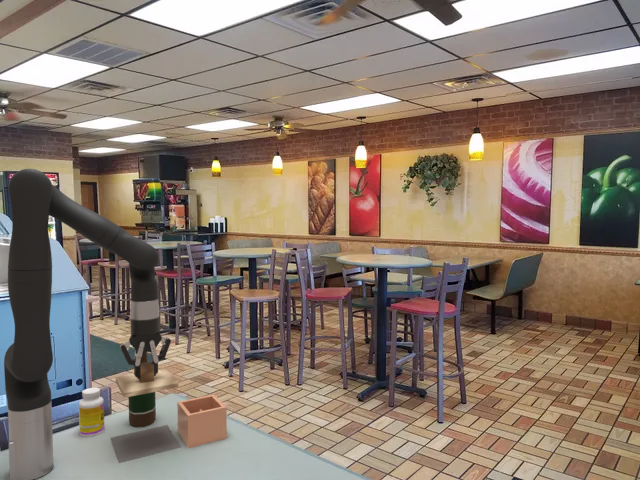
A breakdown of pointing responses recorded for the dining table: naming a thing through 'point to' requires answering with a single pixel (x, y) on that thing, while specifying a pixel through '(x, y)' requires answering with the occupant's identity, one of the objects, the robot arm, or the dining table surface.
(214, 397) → the terracotta square planter
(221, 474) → the dining table surface
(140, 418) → the beer bottle
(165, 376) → the lid
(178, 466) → the dining table surface
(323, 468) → the dining table surface
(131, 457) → the mat
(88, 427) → the supplement bottle
